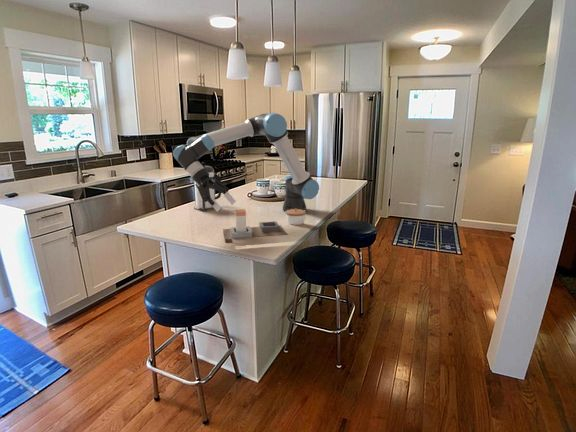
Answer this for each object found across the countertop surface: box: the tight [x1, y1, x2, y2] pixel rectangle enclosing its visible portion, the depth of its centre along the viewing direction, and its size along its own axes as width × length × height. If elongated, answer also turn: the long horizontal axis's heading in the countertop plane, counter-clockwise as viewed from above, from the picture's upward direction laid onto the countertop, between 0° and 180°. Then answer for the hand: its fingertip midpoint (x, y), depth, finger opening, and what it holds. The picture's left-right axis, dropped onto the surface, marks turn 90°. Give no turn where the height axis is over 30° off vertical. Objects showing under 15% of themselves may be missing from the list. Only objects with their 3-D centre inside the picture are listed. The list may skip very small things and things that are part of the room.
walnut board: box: [222, 224, 288, 243], centre depth 166 cm, size 30×16×2 cm, turn 104°
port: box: [229, 225, 253, 240], centre depth 161 cm, size 10×10×2 cm
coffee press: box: [193, 161, 222, 212], centre depth 214 cm, size 17×16×30 cm
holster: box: [258, 220, 280, 232], centre depth 171 cm, size 9×9×2 cm
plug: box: [234, 208, 247, 232], centre depth 160 cm, size 4×4×12 cm
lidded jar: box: [285, 208, 306, 226], centre depth 181 cm, size 11×11×9 cm
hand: (227, 206), depth 160 cm, fingers open, 13 cm apart
